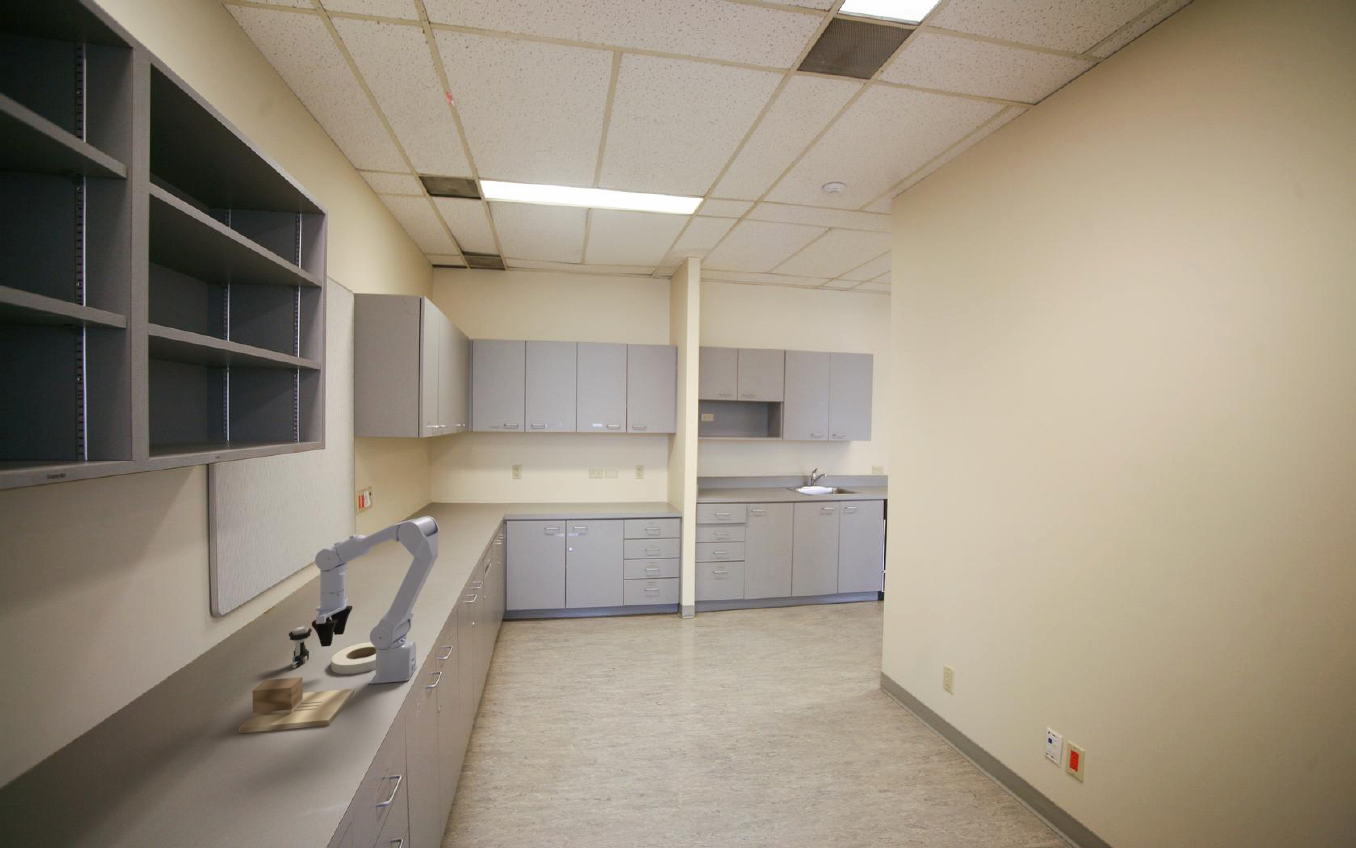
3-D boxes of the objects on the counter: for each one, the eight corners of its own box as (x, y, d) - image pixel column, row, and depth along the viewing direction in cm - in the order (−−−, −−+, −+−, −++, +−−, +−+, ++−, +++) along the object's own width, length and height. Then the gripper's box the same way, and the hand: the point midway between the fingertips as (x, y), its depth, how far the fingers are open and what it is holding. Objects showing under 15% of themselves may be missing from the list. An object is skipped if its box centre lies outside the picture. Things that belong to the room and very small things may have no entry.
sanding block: (302, 701, 127) (302, 677, 127) (291, 713, 122) (291, 687, 122) (265, 705, 125) (265, 680, 125) (252, 716, 120) (252, 690, 120)
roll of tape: (318, 668, 147) (318, 658, 147) (370, 646, 161) (370, 637, 161) (354, 680, 140) (354, 669, 140) (405, 656, 154) (405, 647, 154)
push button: (303, 668, 146) (304, 633, 146) (282, 670, 144) (282, 634, 144) (315, 658, 152) (315, 624, 152) (294, 659, 151) (294, 625, 151)
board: (354, 693, 133) (354, 688, 133) (328, 725, 119) (328, 719, 119) (274, 700, 129) (274, 695, 129) (239, 733, 116) (239, 728, 116)
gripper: (329, 583, 149) (329, 630, 149) (303, 600, 135) (302, 652, 135) (356, 581, 150) (356, 628, 150) (333, 598, 136) (333, 650, 136)
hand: (332, 640), depth 143 cm, fingers open, 7 cm apart
